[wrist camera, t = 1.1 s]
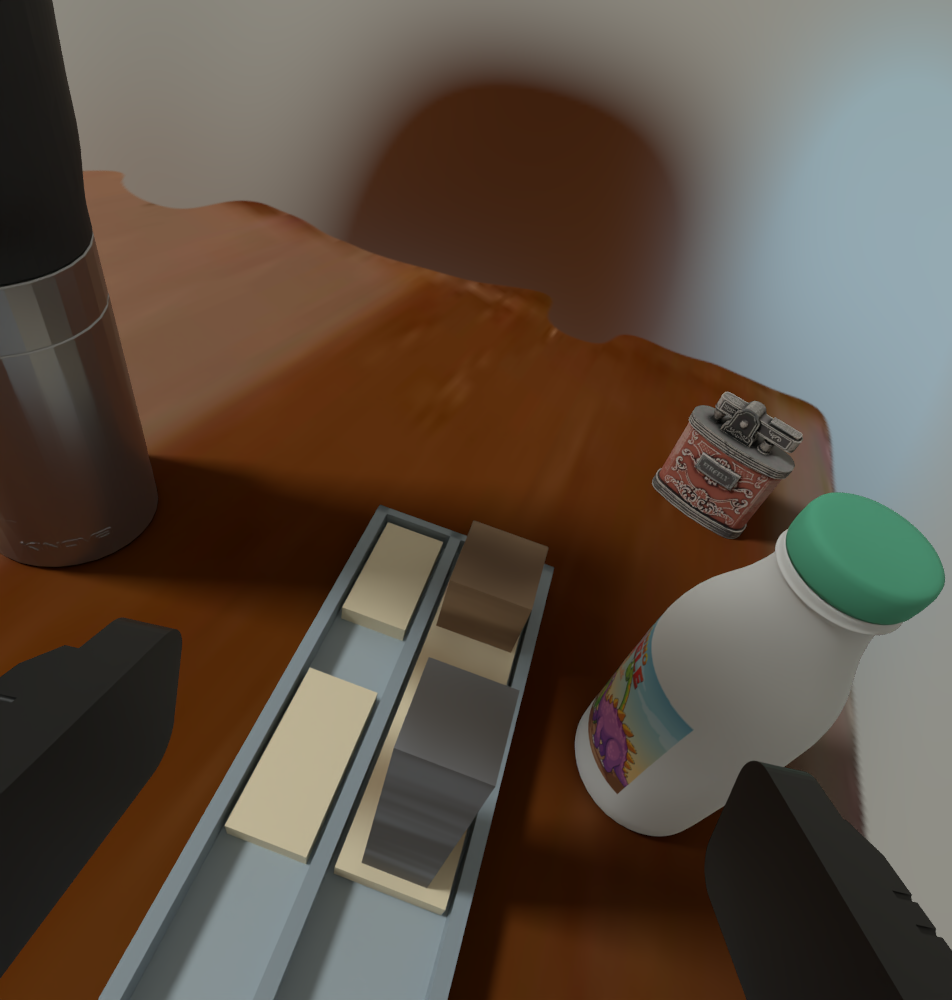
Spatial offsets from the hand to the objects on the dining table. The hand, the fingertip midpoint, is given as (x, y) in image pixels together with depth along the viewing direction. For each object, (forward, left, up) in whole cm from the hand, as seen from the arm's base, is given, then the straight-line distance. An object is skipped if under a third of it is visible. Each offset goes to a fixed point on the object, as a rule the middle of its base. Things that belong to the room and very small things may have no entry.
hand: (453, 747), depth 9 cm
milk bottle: (-3, +17, -24) cm, 30 cm away
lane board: (-7, +3, -24) cm, 25 cm away
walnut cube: (-13, +12, -22) cm, 28 cm away
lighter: (-18, +34, -24) cm, 45 cm away
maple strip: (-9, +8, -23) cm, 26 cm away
